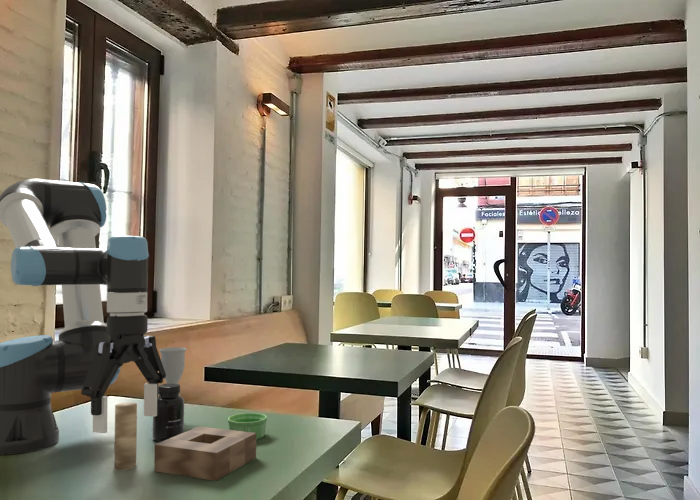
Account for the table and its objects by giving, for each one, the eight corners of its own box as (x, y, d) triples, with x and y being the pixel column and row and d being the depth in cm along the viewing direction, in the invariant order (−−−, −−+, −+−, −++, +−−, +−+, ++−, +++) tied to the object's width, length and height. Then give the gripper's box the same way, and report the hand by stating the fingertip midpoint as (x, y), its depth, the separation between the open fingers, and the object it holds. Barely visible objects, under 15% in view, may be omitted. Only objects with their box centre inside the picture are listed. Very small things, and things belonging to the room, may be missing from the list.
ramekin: (220, 440, 131) (220, 420, 131) (239, 429, 140) (239, 411, 140) (256, 443, 129) (256, 423, 129) (273, 432, 137) (273, 414, 137)
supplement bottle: (174, 443, 129) (175, 388, 129) (146, 441, 130) (147, 387, 130) (189, 434, 135) (189, 382, 136) (162, 433, 137) (163, 381, 137)
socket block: (154, 471, 110) (154, 444, 111) (198, 450, 124) (199, 426, 124) (216, 480, 105) (216, 452, 106) (256, 457, 118) (256, 432, 119)
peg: (109, 468, 112) (110, 406, 112) (124, 462, 116) (125, 401, 116) (125, 471, 110) (126, 407, 111) (140, 464, 114) (141, 403, 115)
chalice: (158, 417, 152) (159, 347, 152) (185, 415, 154) (186, 346, 154) (158, 424, 145) (158, 351, 145) (186, 421, 147) (187, 350, 147)
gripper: (92, 318, 101) (91, 442, 100) (183, 311, 124) (182, 411, 123) (60, 318, 104) (59, 438, 103) (154, 310, 127) (154, 408, 126)
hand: (126, 423), depth 113 cm, fingers open, 13 cm apart
